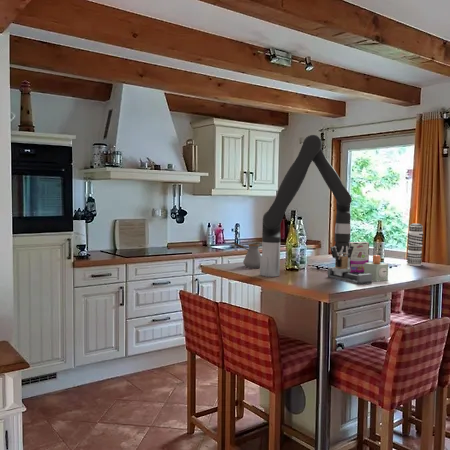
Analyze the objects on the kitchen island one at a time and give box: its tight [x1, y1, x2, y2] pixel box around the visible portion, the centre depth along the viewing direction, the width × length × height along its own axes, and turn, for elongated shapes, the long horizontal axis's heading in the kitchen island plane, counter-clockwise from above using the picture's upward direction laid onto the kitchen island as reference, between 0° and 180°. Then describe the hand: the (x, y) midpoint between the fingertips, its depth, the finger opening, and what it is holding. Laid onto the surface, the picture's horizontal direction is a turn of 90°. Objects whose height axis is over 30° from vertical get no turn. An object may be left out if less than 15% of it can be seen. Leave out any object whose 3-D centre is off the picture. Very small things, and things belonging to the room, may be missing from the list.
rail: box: [327, 267, 373, 286], centre depth 233 cm, size 8×22×5 cm, turn 29°
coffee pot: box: [230, 241, 262, 269], centre depth 263 cm, size 21×12×15 cm, turn 127°
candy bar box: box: [348, 241, 370, 274], centre depth 257 cm, size 11×5×16 cm, turn 101°
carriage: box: [331, 254, 351, 276], centre depth 238 cm, size 7×6×10 cm
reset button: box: [372, 254, 381, 264], centre depth 236 cm, size 3×3×4 cm
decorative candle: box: [406, 223, 425, 267], centre depth 287 cm, size 9×9×25 cm
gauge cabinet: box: [363, 261, 389, 282], centre depth 236 cm, size 8×9×8 cm
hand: (341, 266), depth 238 cm, fingers closed on carriage, 3 cm apart
